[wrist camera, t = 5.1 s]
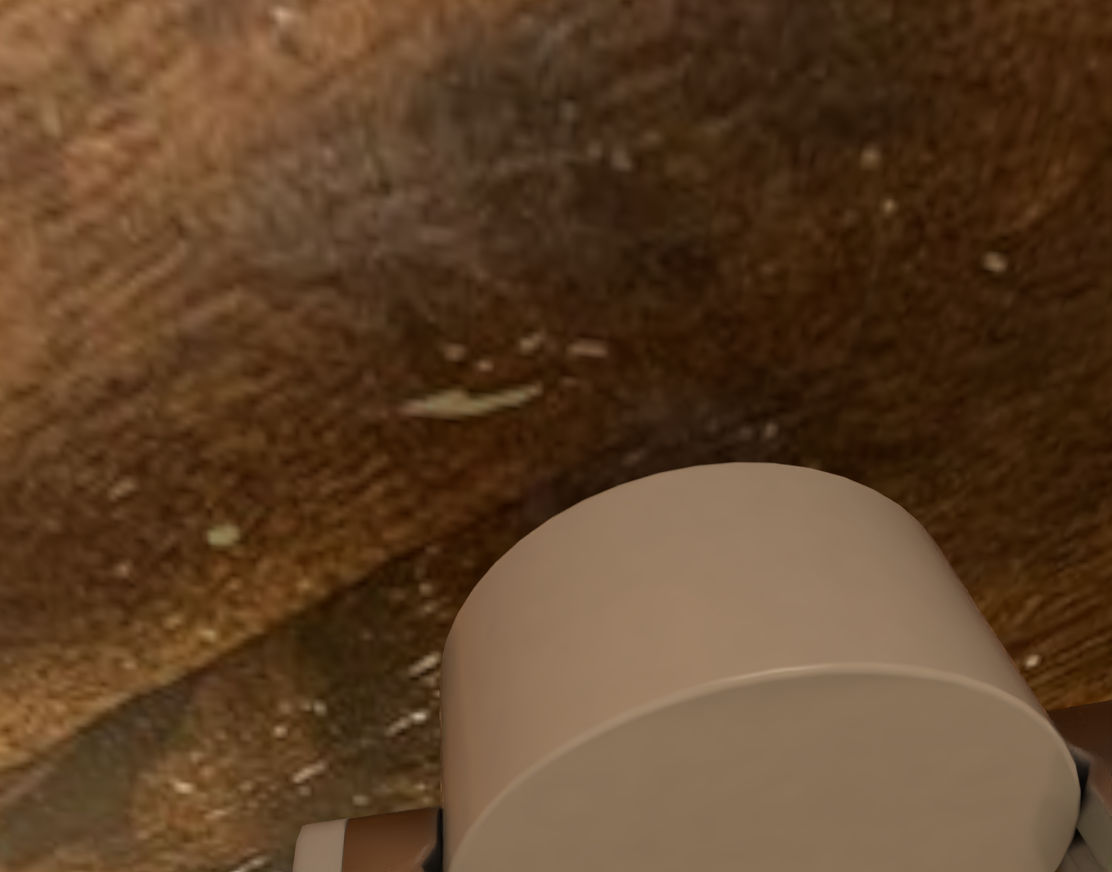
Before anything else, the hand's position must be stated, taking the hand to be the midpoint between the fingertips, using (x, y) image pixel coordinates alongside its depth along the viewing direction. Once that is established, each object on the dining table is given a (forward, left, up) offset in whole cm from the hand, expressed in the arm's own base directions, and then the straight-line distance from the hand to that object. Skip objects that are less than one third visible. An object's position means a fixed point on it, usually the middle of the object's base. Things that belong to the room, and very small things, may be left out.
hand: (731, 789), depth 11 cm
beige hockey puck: (0, 0, -2) cm, 2 cm away
